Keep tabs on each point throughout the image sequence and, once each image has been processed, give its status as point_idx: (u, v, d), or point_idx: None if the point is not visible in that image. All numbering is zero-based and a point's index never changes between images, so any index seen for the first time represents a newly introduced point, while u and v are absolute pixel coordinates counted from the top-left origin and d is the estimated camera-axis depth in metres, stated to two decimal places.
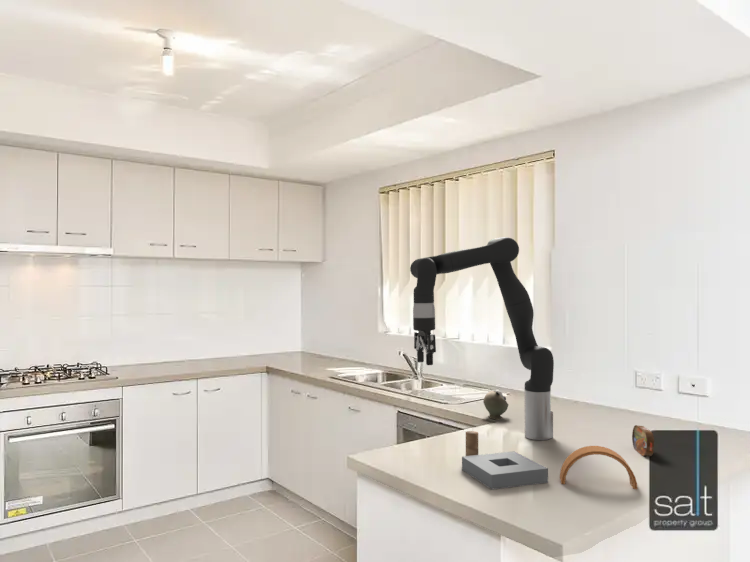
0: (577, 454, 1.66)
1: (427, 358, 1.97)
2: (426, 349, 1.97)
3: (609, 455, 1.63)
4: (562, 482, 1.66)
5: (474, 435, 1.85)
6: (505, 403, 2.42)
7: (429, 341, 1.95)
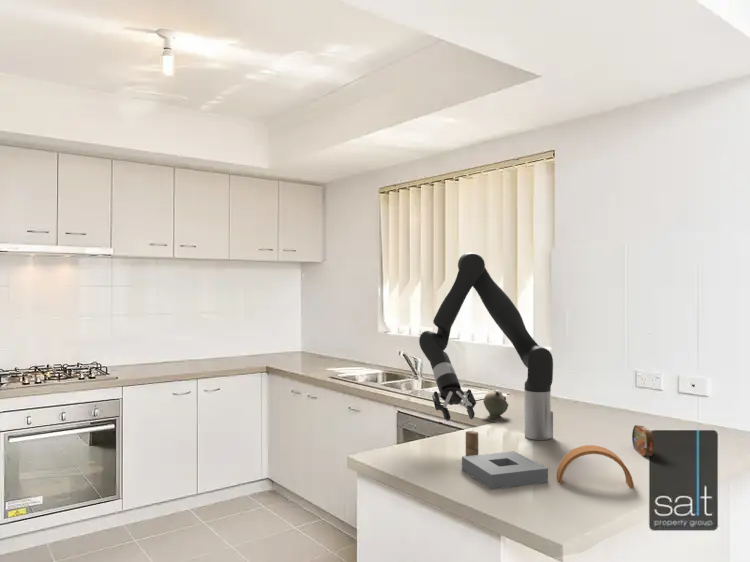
0: (574, 454, 1.66)
1: None
2: None
3: (606, 454, 1.63)
4: (559, 482, 1.66)
5: (474, 435, 1.85)
6: (505, 403, 2.42)
7: (433, 400, 1.99)
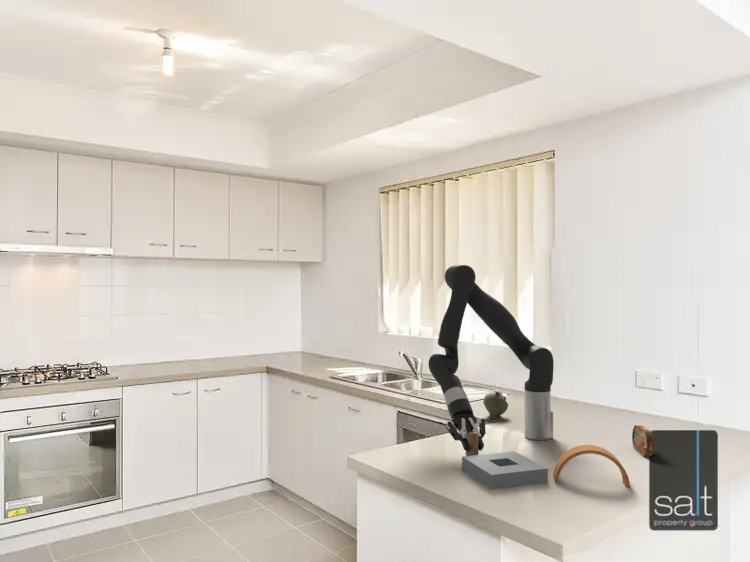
0: (570, 453, 1.67)
1: None
2: None
3: (602, 454, 1.64)
4: (555, 481, 1.66)
5: (474, 435, 1.85)
6: (505, 403, 2.42)
7: (449, 431, 1.89)
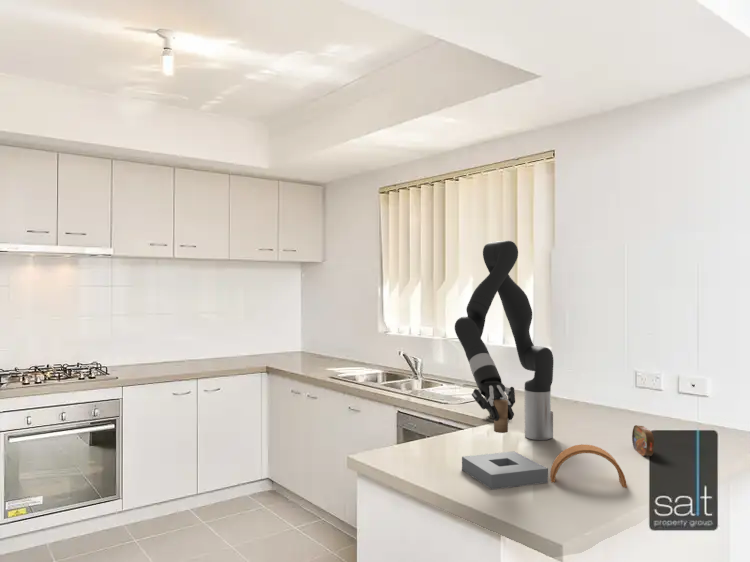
0: (567, 453, 1.67)
1: None
2: None
3: (599, 454, 1.64)
4: (552, 480, 1.67)
5: (503, 403, 1.71)
6: None
7: (475, 399, 1.75)
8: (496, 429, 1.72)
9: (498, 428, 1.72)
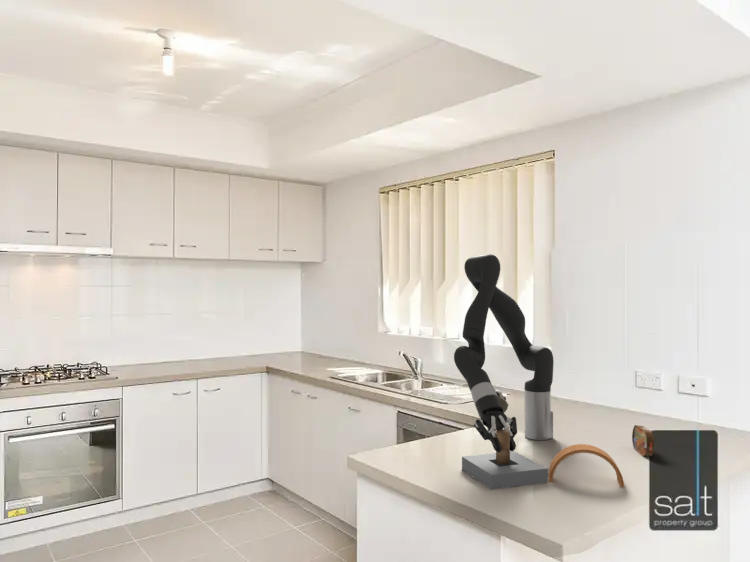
0: (564, 453, 1.68)
1: None
2: None
3: (596, 453, 1.65)
4: (550, 480, 1.67)
5: (506, 434, 1.71)
6: (505, 403, 2.42)
7: (477, 429, 1.75)
8: (498, 460, 1.71)
9: (500, 459, 1.71)
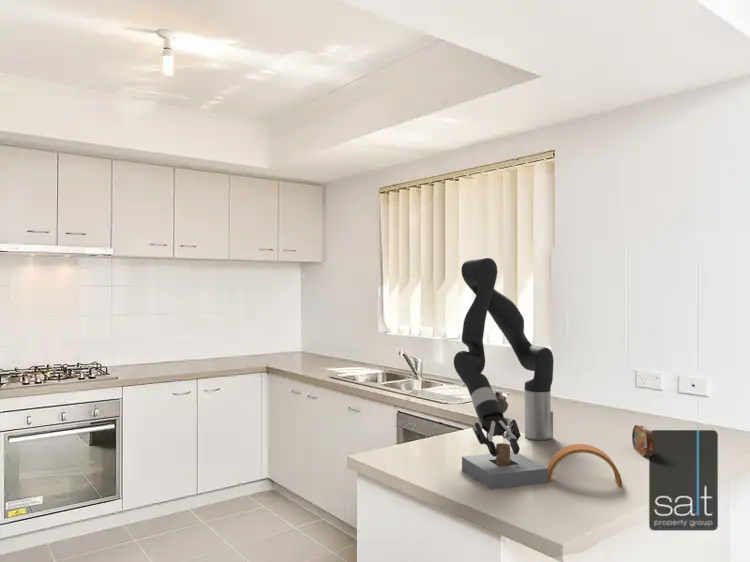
0: (563, 452, 1.68)
1: None
2: None
3: (594, 453, 1.65)
4: (548, 480, 1.68)
5: (506, 448, 1.71)
6: (505, 403, 2.42)
7: (475, 433, 1.75)
8: None
9: None
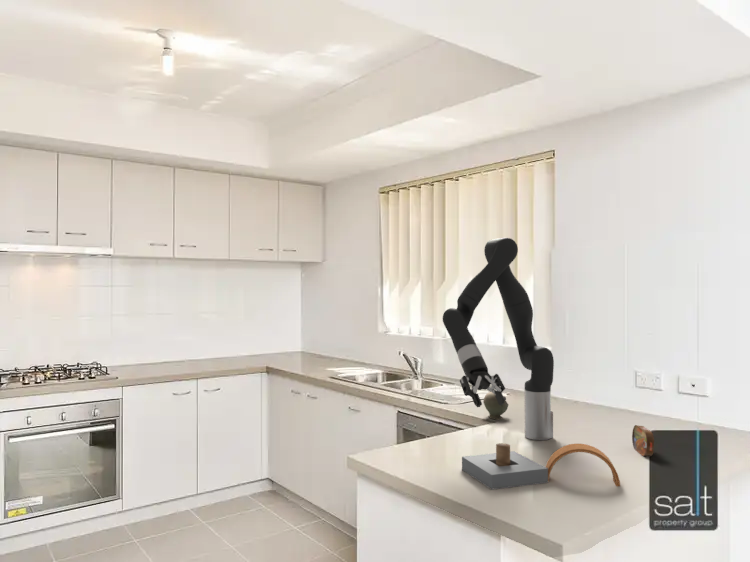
0: (561, 452, 1.68)
1: None
2: None
3: (592, 453, 1.65)
4: None
5: (506, 448, 1.71)
6: (505, 403, 2.42)
7: (462, 385, 1.86)
8: None
9: None
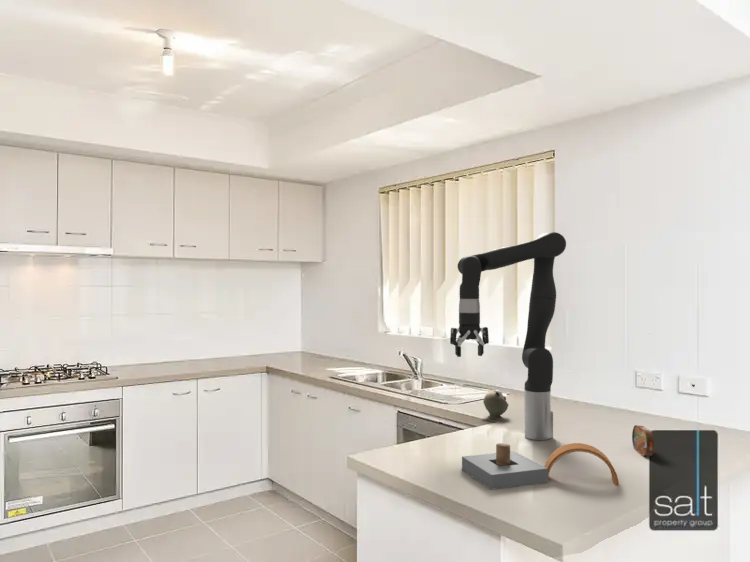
0: (560, 452, 1.69)
1: None
2: (455, 341, 2.12)
3: (591, 452, 1.66)
4: None
5: (506, 448, 1.71)
6: (505, 403, 2.42)
7: (451, 333, 2.11)
8: None
9: None
